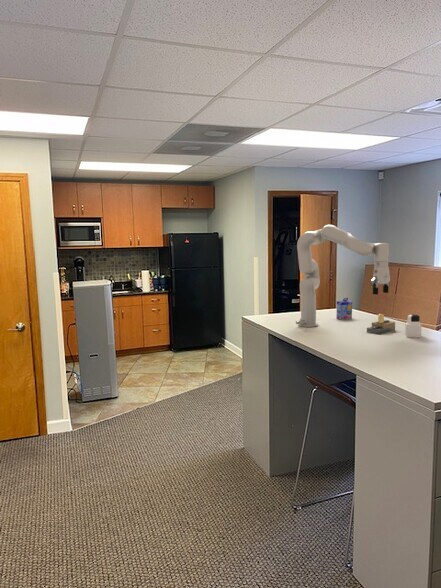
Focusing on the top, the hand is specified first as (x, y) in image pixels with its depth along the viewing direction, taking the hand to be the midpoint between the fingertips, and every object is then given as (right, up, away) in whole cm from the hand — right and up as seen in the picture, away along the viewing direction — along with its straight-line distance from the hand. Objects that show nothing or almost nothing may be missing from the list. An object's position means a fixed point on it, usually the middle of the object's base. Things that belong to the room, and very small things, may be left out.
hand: (380, 293), depth 248 cm
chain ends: (+1, -22, +2) cm, 22 cm away
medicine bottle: (+13, -24, -12) cm, 30 cm away
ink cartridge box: (-8, -17, +44) cm, 48 cm away
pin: (+1, -22, +2) cm, 22 cm away
